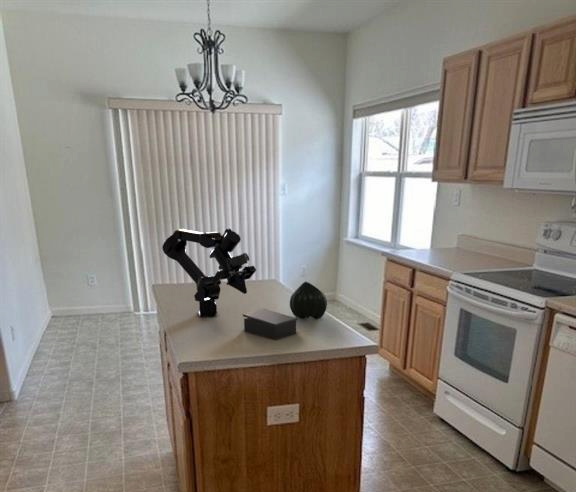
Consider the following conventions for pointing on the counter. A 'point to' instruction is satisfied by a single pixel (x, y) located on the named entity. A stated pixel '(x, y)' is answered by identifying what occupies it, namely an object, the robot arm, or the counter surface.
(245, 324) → the case
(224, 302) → the counter surface
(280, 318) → the cover
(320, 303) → the squash
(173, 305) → the counter surface
